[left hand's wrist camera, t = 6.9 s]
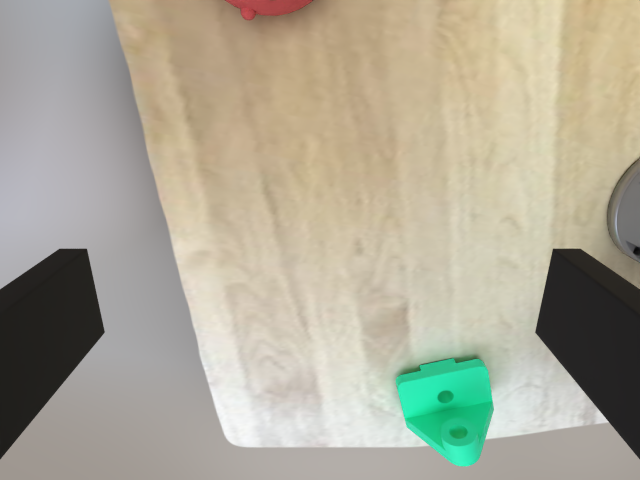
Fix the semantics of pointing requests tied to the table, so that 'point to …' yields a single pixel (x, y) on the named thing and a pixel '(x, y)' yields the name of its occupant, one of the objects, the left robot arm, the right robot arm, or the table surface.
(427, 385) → the camera mount
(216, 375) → the table surface
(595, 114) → the table surface
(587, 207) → the table surface
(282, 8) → the toy
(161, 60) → the table surface
